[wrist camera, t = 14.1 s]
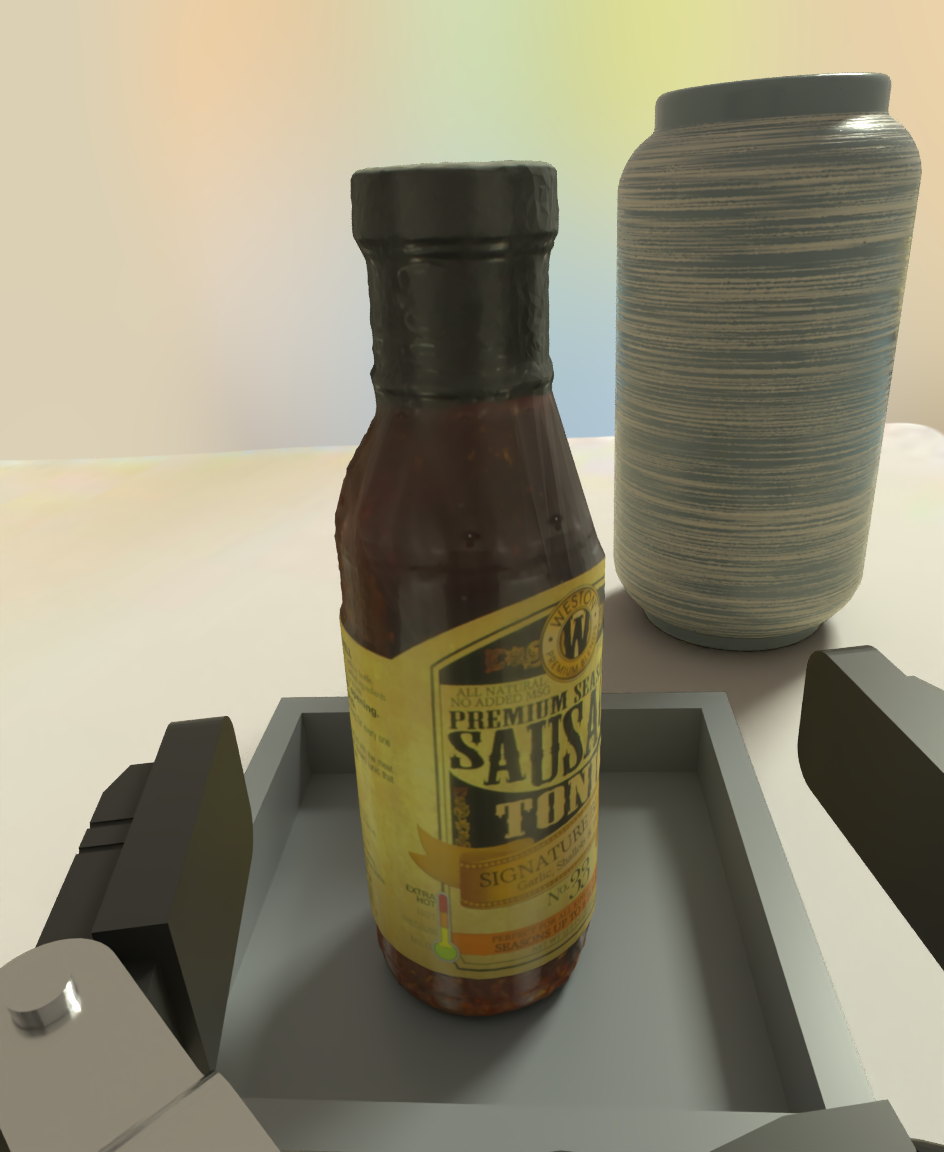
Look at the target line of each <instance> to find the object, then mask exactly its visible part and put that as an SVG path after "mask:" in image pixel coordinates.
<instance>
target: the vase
mask: <svg viewBox="0 0 944 1152" xmlns="http://www.w3.org/2000/svg"><path fill="white" fill-rule="evenodd" d="M890 91H891V80H890V77H889V76H888V75H886V74H882V73H829V74H812V75H798V76H785V77H774V78H764V79H753V80H743V81H736V82H727V83H719V84H711V85H704V86H698V87H691V88H685V89H680V90H675V91H671V92H667V93H665V94H662V95H661V96H660V97H659V98H658V99H657V101H656V106H655V107H656V108H655V129H654V132H653V134H652V135H651V136H650V137H649V138H648V139H646V140H645V141H644V142H643V143H642V144H640V146H639V147H638V148H637V149H636V150H635V151H634V153H633V154H632V156H631V157H630V159H629V160H628V162H627V164H626V166H625V168H624V170H623V173H622V175H621V178H620V182H619V187H618V213H617V214H618V215H617V301H616V302H617V303H616V304H617V305H616V309H617V310H616V389H615V391H616V392H615V395H616V396H615V398H616V400H615V478H614V562H615V568H616V572H617V575H618V577H619V579H620V581H621V583H622V584H623V586H624V588H625V589H626V591H627V593H628V594H629V595H630V596H631V597H632V598H633V599H634V600H635V601H636V602H637V603H638V604H639V605H640V606H641V607H642V608H643V610H644V613H645V614H646V616H647V618H648V619H649V620H650V621H651V622H652V623H653V624H654V625H655V626H656V627H658V628H659V629H661V630H662V631H664V632H665V633H667V634H669V635H671V636H673V637H675V638H678V639H680V640H683V641H686V642H689V643H692V644H696V645H700V646H704V647H709V648H715V649H722V650H734V651H758V650H768V649H774V648H779V647H784V646H788V645H791V644H794V643H797V642H799V641H801V640H803V639H805V638H807V637H809V636H810V635H811V634H812V633H814V632H815V631H816V630H817V629H818V627H819V626H820V624H821V623H822V622H823V621H825V620H827V619H829V618H830V617H832V616H833V615H834V614H835V613H836V612H838V611H839V610H840V609H841V608H842V607H844V606H845V605H846V604H847V603H848V601H849V600H850V599H851V598H852V596H853V594H854V593H855V591H856V590H857V588H858V586H859V585H860V582H861V579H862V575H863V568H864V561H865V555H866V548H867V541H868V534H869V527H870V521H871V514H872V507H873V500H874V493H875V487H876V480H877V473H878V466H879V459H880V453H881V446H882V439H883V432H884V425H885V418H886V412H887V405H888V398H889V391H890V384H891V378H892V371H893V364H894V357H895V350H896V343H897V336H898V330H899V323H900V317H901V310H902V302H903V295H904V289H905V282H906V275H907V269H908V262H909V255H910V249H911V242H912V235H913V228H914V221H915V215H916V207H917V200H918V194H919V186H920V180H921V174H922V171H921V160H920V156H919V152H918V149H917V147H916V144H915V142H914V140H913V138H912V137H911V135H910V133H909V132H908V131H907V130H906V129H905V128H904V126H903V125H901V124H900V123H899V122H897V121H896V120H895V119H893V118H892V117H891V116H890V115H889V113H888V107H889V99H890Z"/></svg>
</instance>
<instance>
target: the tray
mask: <svg viewBox="0 0 944 1152" xmlns="http://www.w3.org/2000/svg"><path fill="white" fill-rule="evenodd" d="M600 725H601V745H600V767H599V803H598V843H597V878H596V902H595V909H594V912H593V915H592V917H591V920H590V924H589V927H588V931H587V934H586V943H585V946H584V947H583V948H582V951H581V954H580V957H579V960H578V962H577V964H576V966H575V969H574V970H573V971H572V973H571V975H570V977H569V979H568V981H567V982H565V983H564V984H563V985H562V986H561V987H558V988H555V990H554V991H553V992H552V994H551V995H550V996H549V997H547V998H545V999H541V1000H539V1001H537V1002H536V1003H534V1004H532V1005H529V1006H527V1007H524V1008H521V1009H519V1010H514V1011H510V1012H506V1013H502V1014H498V1015H493V1016H486V1017H485V1016H468V1017H465V1016H463V1015H453V1014H448V1013H444V1012H442V1011H440V1010H437V1009H435V1008H433V1007H431V1006H429V1005H427V1004H425V1003H424V1002H422V1001H420V1000H419V999H417V998H415V997H414V996H412V995H411V994H410V993H409V992H408V991H407V990H406V989H405V988H404V987H402V986H401V985H399V983H398V981H397V980H396V978H395V977H394V975H393V973H392V971H391V969H390V968H389V967H388V964H387V961H386V960H385V958H384V954H383V952H382V950H381V948H380V946H379V943H378V937H377V925H376V922H375V919H374V916H373V913H372V909H371V904H370V897H369V889H368V881H367V870H366V861H365V853H364V843H363V834H362V824H361V816H360V807H359V797H358V786H357V776H356V766H355V756H354V745H353V737H352V728H351V719H350V710H349V700H348V697H290V698H281V700H280V702H279V704H278V706H277V708H276V710H275V712H274V714H273V716H272V718H271V721H270V723H269V725H268V727H267V729H266V731H265V733H264V735H263V737H262V739H261V741H260V743H259V745H258V747H257V749H256V751H255V753H254V756H253V758H252V760H251V762H250V764H249V766H248V768H247V770H246V772H245V774H244V778H245V783H246V788H247V792H248V797H249V802H250V806H251V812H252V821H253V854H252V861H251V866H250V872H249V878H248V884H247V890H246V896H245V901H244V907H243V913H242V919H241V925H240V931H239V936H238V942H237V948H236V954H235V960H234V965H233V971H232V977H231V983H230V989H229V995H228V1000H227V1006H226V1012H225V1018H224V1024H223V1030H222V1035H221V1041H220V1047H219V1053H218V1059H217V1065H216V1070H215V1071H217V1072H219V1073H220V1074H221V1075H222V1076H223V1077H224V1078H225V1079H226V1080H227V1081H228V1082H229V1084H230V1085H231V1086H232V1087H233V1089H234V1090H235V1091H236V1093H237V1094H238V1095H239V1097H240V1098H241V1099H242V1101H243V1102H244V1103H245V1105H246V1106H247V1107H248V1109H249V1110H250V1111H251V1113H252V1114H253V1115H254V1117H255V1118H256V1119H257V1121H258V1122H259V1123H260V1125H261V1126H262V1127H263V1129H264V1130H265V1131H266V1133H267V1134H268V1135H269V1137H270V1138H271V1139H272V1141H273V1142H274V1144H275V1145H276V1146H277V1148H278V1149H279V1150H280V1152H553V1151H559V1150H562V1151H571V1152H710V1151H712V1150H714V1149H716V1148H718V1147H720V1146H722V1145H724V1144H726V1143H729V1142H731V1141H733V1140H735V1139H737V1138H739V1137H741V1136H743V1135H745V1134H747V1133H749V1132H751V1131H753V1130H755V1129H757V1128H759V1127H761V1126H763V1125H765V1124H767V1123H769V1122H771V1121H774V1120H776V1119H778V1118H780V1117H782V1116H785V1115H791V1114H798V1113H804V1112H810V1111H817V1110H823V1109H830V1108H836V1107H843V1106H849V1105H855V1104H862V1103H868V1102H875V1101H876V1100H875V1098H874V1095H873V1092H872V1090H871V1087H870V1084H869V1081H868V1079H867V1076H866V1073H865V1070H864V1068H863V1065H862V1062H861V1060H860V1057H859V1054H858V1051H857V1049H856V1046H855V1043H854V1041H853V1038H852V1035H851V1032H850V1030H849V1027H848V1024H847V1021H846V1019H845V1016H844V1013H843V1011H842V1008H841V1005H840V1002H839V1000H838V997H837V994H836V991H835V989H834V986H833V983H832V981H831V978H830V975H829V972H828V970H827V967H826V964H825V962H824V959H823V956H822V953H821V951H820V948H819V945H818V942H817V940H816V937H815V934H814V932H813V929H812V926H811V923H810V921H809V918H808V915H807V912H806V910H805V907H804V904H803V902H802V899H801V896H800V893H799V891H798V888H797V885H796V883H795V880H794V877H793V874H792V872H791V869H790V866H789V863H788V861H787V858H786V855H785V853H784V850H783V847H782V844H781V842H780V839H779V836H778V833H777V831H776V828H775V825H774V823H773V820H772V817H771V814H770V812H769V809H768V806H767V804H766V801H765V798H764V795H763V793H762V790H761V787H760V784H759V782H758V779H757V776H756V774H755V771H754V768H753V765H752V763H751V760H750V757H749V754H748V752H747V749H746V746H745V744H744V741H743V738H742V735H741V733H740V730H739V727H738V725H737V722H736V719H735V716H734V714H733V711H732V708H731V705H730V703H729V700H728V697H727V695H726V692H666V693H601V721H600Z"/></svg>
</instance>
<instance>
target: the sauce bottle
mask: <svg viewBox="0 0 944 1152" xmlns="http://www.w3.org/2000/svg"><path fill="white" fill-rule="evenodd" d="M351 201H352V232H353V237H354V239H355V240H356V243H357V244H358V246H359V248H360V250H361V252H362V254H363V256H364V258H365V260H366V264H367V272H368V286H369V298H370V325H371V329H372V334H373V335H372V336H373V346H372V350H373V354H374V365H373V368H372V370H371V372H370V375H371V379H372V383H373V386H374V391H375V396H376V405H377V407H376V414H375V417H374V419H373V420H372V422H371V424H370V427H369V428H368V431H367V433H366V434H365V435H364V437H363V439H362V441H361V443H360V445H359V447H358V448H357V449H356V451H355V454H354V456H353V458H352V460H351V461H350V463H349V465H348V467H347V472H346V476H345V478H344V480H343V484H342V489H341V493H340V497H339V501H338V505H337V509H336V513H335V526H336V532H335V536H334V537H335V541H336V549H337V553H338V561H339V566H338V567H339V570H340V577H341V590H342V601H343V602H342V605H341V608H340V617H339V619H340V627H341V636H342V645H343V654H344V663H345V672H346V681H347V691H348V700H349V710H350V719H351V728H352V737H353V745H354V756H355V766H356V776H357V786H358V797H359V807H360V816H361V824H362V834H363V843H364V853H365V861H366V870H367V881H368V889H369V897H370V904H371V909H372V913H373V916H374V919H375V922H376V925H377V937H378V943H379V946H380V948H381V950H382V952H383V954H384V958H385V960H386V961H387V964H388V967H389V968H390V969H391V971H392V973H393V975H394V977H395V978H396V980H397V981H398V983H399V985H401V986H402V987H404V988H405V989H406V990H407V991H408V992H409V993H410V994H411V995H412V996H414V997H415V998H417V999H419V1000H420V1001H422V1002H424V1003H425V1004H427V1005H429V1006H431V1007H433V1008H435V1009H437V1010H440V1011H442V1012H444V1013H448V1014H453V1015H463V1016H465V1017H468V1016H485V1017H486V1016H493V1015H498V1014H502V1013H506V1012H510V1011H514V1010H519V1009H521V1008H524V1007H527V1006H529V1005H532V1004H534V1003H536V1002H537V1001H539V1000H541V999H545V998H547V997H549V996H550V995H551V994H552V992H553V991H554V990H555V988H558V987H561V986H562V985H563V984H564V983H565V982H567V981H568V979H569V977H570V975H571V973H572V971H573V970H574V969H575V966H576V964H577V962H578V960H579V957H580V954H581V951H582V948H583V947H584V946H585V943H586V934H587V931H588V927H589V924H590V920H591V917H592V915H593V912H594V909H595V902H596V878H597V843H598V803H599V767H600V745H601V725H600V721H601V683H602V648H603V620H604V598H605V591H604V586H605V554H604V551H603V549H602V547H601V545H600V542H599V540H598V538H597V534H596V531H595V528H594V525H593V522H592V518H591V515H590V512H589V509H588V505H587V502H586V499H585V496H584V493H583V489H582V486H581V483H580V480H579V476H578V473H577V470H576V467H575V463H574V460H573V457H572V454H571V451H570V447H569V444H568V441H567V438H566V435H565V431H564V428H563V425H562V422H561V418H560V415H559V412H558V409H557V405H556V402H555V399H554V396H553V392H552V382H553V377H554V371H553V365H552V361H551V358H550V356H549V293H548V288H549V275H548V270H549V258H550V252H551V249H552V248H553V246H554V240H555V238H556V236H557V234H558V225H559V224H558V220H559V219H558V218H559V216H558V215H559V208H558V199H557V171H556V169H555V168H554V167H553V166H552V165H551V164H549V163H547V162H541V161H514V160H507V161H491V162H463V163H451V162H443V163H422V164H412V165H398V166H389V167H376V168H366V169H363V170H358V171H356V172H355V173H354V174H353V175H352V178H351Z"/></svg>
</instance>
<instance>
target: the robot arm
mask: <svg viewBox="0 0 944 1152" xmlns="http://www.w3.org/2000/svg"><path fill="white" fill-rule="evenodd" d="M798 758H799V764H800V768H801V771H802V774H803V777H804V779H805V781H806V783H807V785H808V787H809V788H810V790H811V791H812V793H813V794H814V795H815V797H816V798H817V799H818V801H819V802H820V803H821V805H822V806H823V808H824V809H825V810H826V812H827V813H828V814H829V816H830V817H831V818H832V820H833V821H834V822H835V824H836V825H837V827H838V828H839V829H840V831H841V832H842V833H843V835H844V836H845V837H846V839H847V840H848V841H849V843H850V844H851V846H852V847H853V848H854V850H855V851H856V852H857V854H858V855H859V856H860V858H861V859H862V860H863V862H864V863H865V865H866V866H867V867H868V869H869V870H870V871H871V873H872V874H873V875H874V877H875V878H876V879H877V881H878V882H879V884H880V885H881V886H882V888H883V889H884V890H885V892H886V893H887V894H888V896H889V897H890V898H891V900H892V901H893V903H894V904H895V905H896V907H897V908H898V909H899V911H900V912H901V913H902V915H903V916H904V917H905V919H906V920H907V922H908V923H909V924H910V926H911V927H912V928H913V930H914V931H915V932H916V934H917V935H918V936H919V938H920V939H921V941H922V942H923V943H924V945H925V946H926V947H927V949H928V950H929V951H930V953H931V954H932V955H933V957H934V958H935V960H936V961H937V962H938V964H939V965H940V966H941V968H942V969H943V970H944V691H943V690H941V689H939V688H937V687H935V686H933V685H931V684H929V683H927V682H925V681H923V680H921V679H919V678H917V677H915V676H906V675H905V674H904V673H902V672H901V671H900V670H899V669H898V668H897V667H896V666H895V665H894V664H893V663H891V662H890V661H889V660H888V659H887V658H886V657H885V656H884V655H883V654H881V653H880V652H879V651H878V650H877V649H876V648H874V647H872V646H868V645H865V646H856V647H847V648H839V649H830V650H821V651H815V652H814V653H813V654H812V655H811V656H810V658H809V660H808V664H807V669H806V677H805V685H804V694H803V702H802V710H801V719H800V727H799V735H798ZM252 854H253V821H252V812H251V806H250V802H249V797H248V792H247V788H246V783H245V778H244V774H243V769H242V764H241V760H240V755H239V750H238V746H237V741H236V736H235V732H234V728H233V724H232V722H231V720H230V718H229V717H228V716H223V717H214V718H205V719H196V720H187V721H178V722H171V723H170V724H169V725H168V727H167V729H166V732H165V734H164V737H163V740H162V743H161V745H160V748H159V751H158V753H157V756H156V759H155V761H154V762H153V763H144V764H135V765H130V766H129V767H128V768H127V769H126V770H125V771H124V772H123V773H122V774H121V775H120V776H119V777H118V778H117V779H116V780H115V781H114V782H113V783H112V784H111V785H110V786H109V787H108V788H107V789H106V790H105V791H104V792H103V794H102V796H101V798H100V801H99V803H98V805H97V807H96V810H95V812H94V814H93V817H92V819H91V821H90V829H87V830H86V833H85V835H84V837H83V840H82V842H81V844H80V846H79V854H76V856H75V858H74V860H73V862H72V865H71V867H70V869H69V872H68V874H67V876H66V878H65V881H64V883H63V885H62V888H61V890H60V892H59V895H58V897H57V899H56V901H55V904H54V906H53V908H52V911H51V913H50V915H49V917H48V920H47V922H46V924H45V927H44V929H43V931H42V933H41V936H40V938H39V940H38V943H37V945H36V947H35V948H34V949H31V950H29V951H27V952H25V953H23V954H22V955H20V956H18V957H16V958H15V959H13V960H12V961H10V962H8V963H7V964H6V965H4V966H3V967H2V968H0V1152H280V1150H279V1149H278V1148H277V1146H276V1145H275V1144H274V1142H273V1141H272V1139H271V1138H270V1137H269V1135H268V1134H267V1133H266V1131H265V1130H264V1129H263V1127H262V1126H261V1125H260V1123H259V1122H258V1121H257V1119H256V1118H255V1117H254V1115H253V1114H252V1113H251V1111H250V1110H249V1109H248V1107H247V1106H246V1105H245V1103H244V1102H243V1101H242V1099H241V1098H240V1097H239V1095H238V1094H237V1093H236V1091H235V1090H234V1089H233V1087H232V1086H231V1085H230V1084H229V1082H228V1081H227V1080H226V1079H225V1078H224V1077H223V1076H222V1075H221V1074H220V1073H219V1072H217V1071H215V1070H216V1065H217V1059H218V1053H219V1047H220V1041H221V1035H222V1030H223V1024H224V1018H225V1012H226V1006H227V1000H228V995H229V989H230V983H231V977H232V971H233V965H234V960H235V954H236V948H237V942H238V936H239V931H240V925H241V919H242V913H243V907H244V901H245V896H246V890H247V884H248V878H249V872H250V866H251V861H252ZM553 1152H571V1151H562V1150H559V1151H553ZM710 1152H944V1145H942V1144H937V1143H933V1142H929V1141H924V1140H920V1139H912V1138H909V1136H908V1134H907V1132H906V1131H905V1129H904V1127H903V1125H902V1124H901V1122H900V1120H899V1118H898V1117H897V1115H896V1113H895V1111H894V1110H893V1108H892V1106H891V1104H890V1103H889V1101H888V1100H881V1101H875V1102H868V1103H862V1104H855V1105H849V1106H843V1107H836V1108H830V1109H823V1110H817V1111H810V1112H804V1113H798V1114H791V1115H785V1116H782V1117H780V1118H778V1119H776V1120H774V1121H771V1122H769V1123H767V1124H765V1125H763V1126H761V1127H759V1128H757V1129H755V1130H753V1131H751V1132H749V1133H747V1134H745V1135H743V1136H741V1137H739V1138H737V1139H735V1140H733V1141H731V1142H729V1143H726V1144H724V1145H722V1146H720V1147H718V1148H716V1149H714V1150H712V1151H710Z"/></svg>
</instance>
